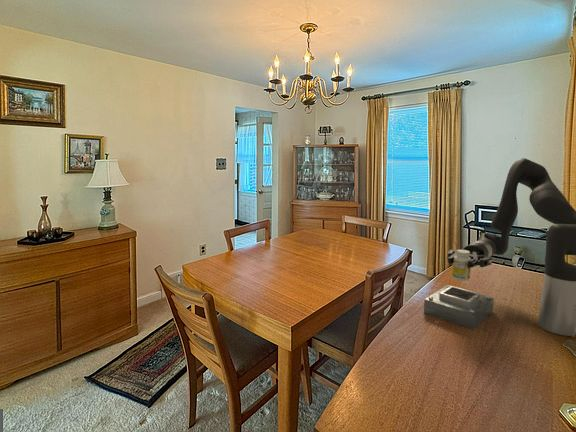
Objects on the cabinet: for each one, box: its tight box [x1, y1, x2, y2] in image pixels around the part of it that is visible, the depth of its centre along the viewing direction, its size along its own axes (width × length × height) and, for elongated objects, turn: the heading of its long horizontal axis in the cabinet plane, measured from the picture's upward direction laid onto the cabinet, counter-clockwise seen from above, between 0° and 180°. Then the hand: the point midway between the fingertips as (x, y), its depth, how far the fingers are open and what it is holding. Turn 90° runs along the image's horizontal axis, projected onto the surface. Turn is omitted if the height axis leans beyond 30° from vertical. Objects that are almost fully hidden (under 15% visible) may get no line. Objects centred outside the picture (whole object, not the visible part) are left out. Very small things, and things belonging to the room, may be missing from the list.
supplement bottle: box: [451, 249, 472, 282], centre depth 108 cm, size 5×5×10 cm
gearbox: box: [423, 284, 495, 331], centre depth 110 cm, size 16×18×7 cm
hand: (459, 263), depth 106 cm, fingers closed on supplement bottle, 5 cm apart
